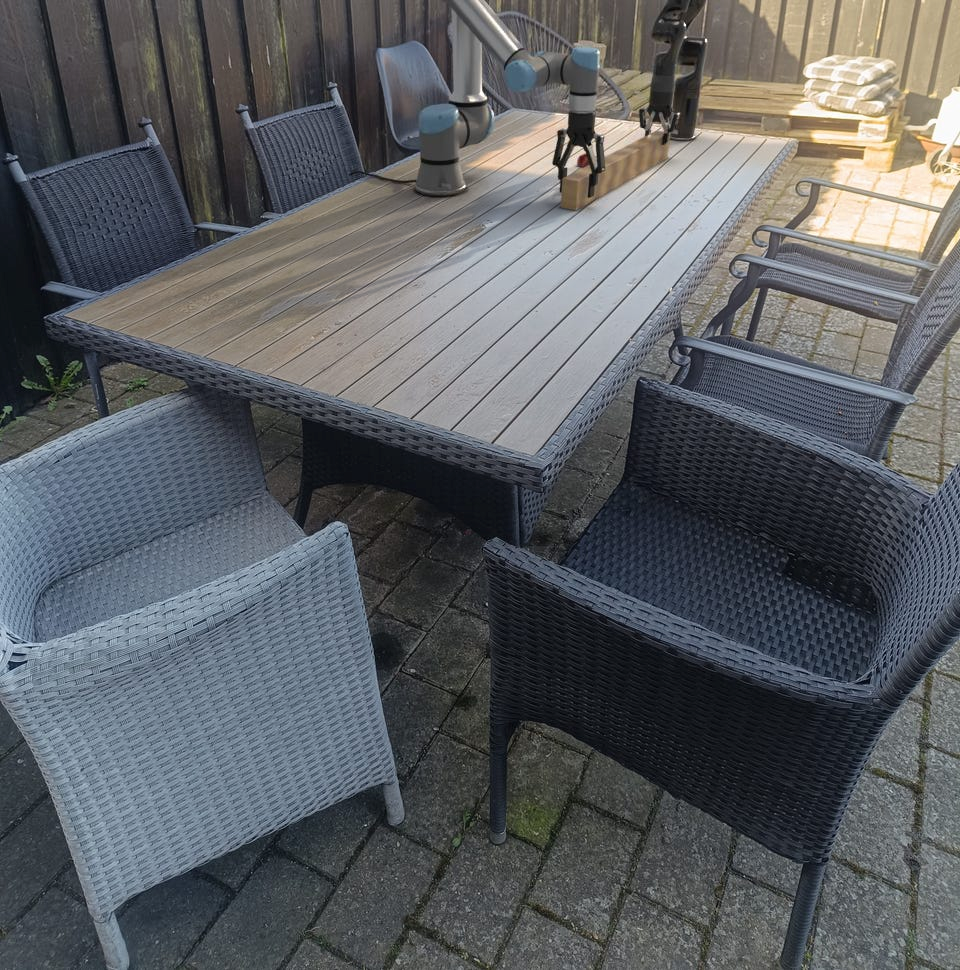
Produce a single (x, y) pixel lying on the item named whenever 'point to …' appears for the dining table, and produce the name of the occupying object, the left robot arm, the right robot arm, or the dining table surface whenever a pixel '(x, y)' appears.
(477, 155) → the dining table surface
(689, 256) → the dining table surface
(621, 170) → the bar
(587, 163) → the red rounded lump
